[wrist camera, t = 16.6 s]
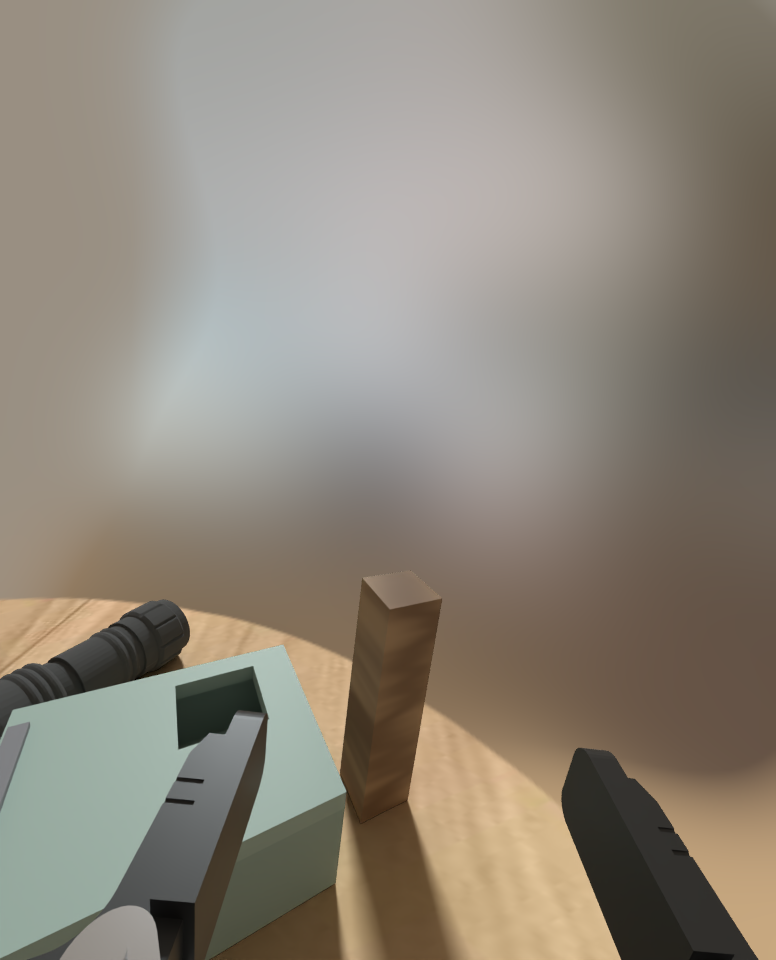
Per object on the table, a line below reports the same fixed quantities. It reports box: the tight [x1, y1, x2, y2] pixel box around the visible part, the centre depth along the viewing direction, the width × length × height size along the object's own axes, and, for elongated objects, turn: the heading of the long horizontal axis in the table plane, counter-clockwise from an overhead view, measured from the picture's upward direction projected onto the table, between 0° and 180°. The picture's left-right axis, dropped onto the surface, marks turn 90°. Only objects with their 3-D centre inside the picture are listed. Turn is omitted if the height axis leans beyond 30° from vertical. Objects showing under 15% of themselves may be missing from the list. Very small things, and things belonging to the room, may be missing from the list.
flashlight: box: [0, 600, 190, 739], centre depth 26 cm, size 15×5×5 cm, turn 159°
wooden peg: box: [340, 570, 442, 823], centre depth 22 cm, size 3×3×14 cm
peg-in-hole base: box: [0, 645, 346, 960], centre depth 19 cm, size 14×11×6 cm
